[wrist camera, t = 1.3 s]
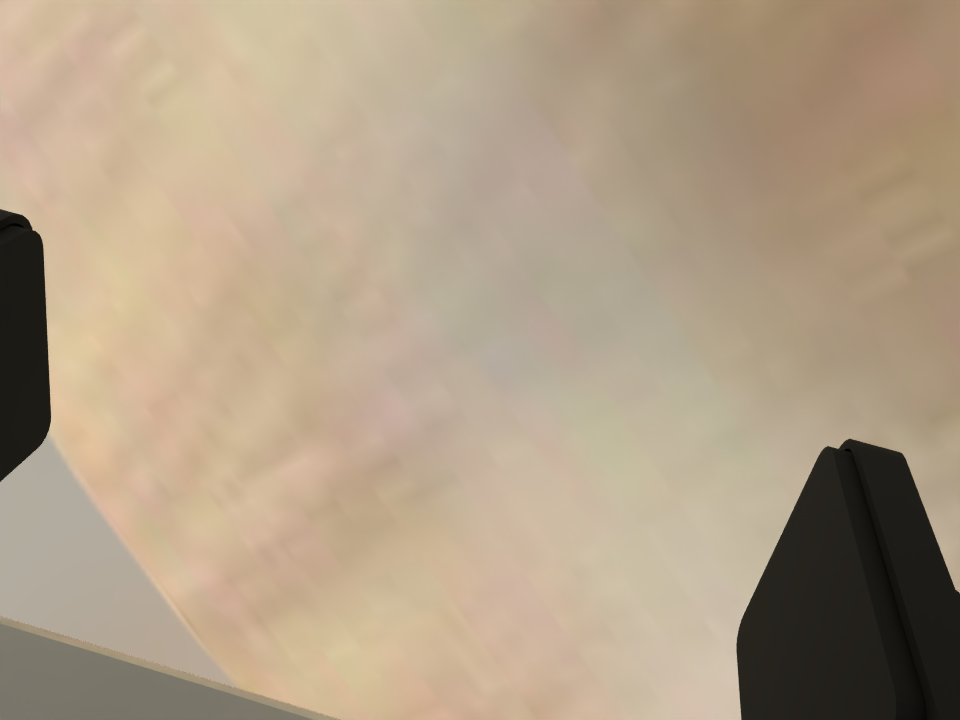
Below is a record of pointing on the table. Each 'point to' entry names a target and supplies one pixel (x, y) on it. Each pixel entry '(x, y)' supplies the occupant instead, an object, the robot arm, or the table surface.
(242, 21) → the table surface
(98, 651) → the robot arm
